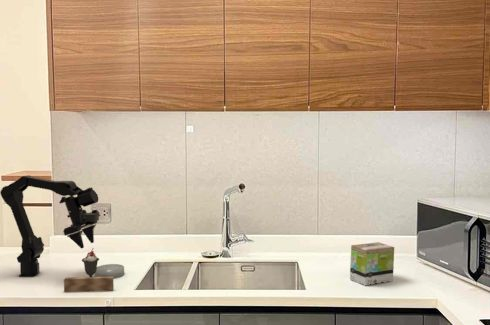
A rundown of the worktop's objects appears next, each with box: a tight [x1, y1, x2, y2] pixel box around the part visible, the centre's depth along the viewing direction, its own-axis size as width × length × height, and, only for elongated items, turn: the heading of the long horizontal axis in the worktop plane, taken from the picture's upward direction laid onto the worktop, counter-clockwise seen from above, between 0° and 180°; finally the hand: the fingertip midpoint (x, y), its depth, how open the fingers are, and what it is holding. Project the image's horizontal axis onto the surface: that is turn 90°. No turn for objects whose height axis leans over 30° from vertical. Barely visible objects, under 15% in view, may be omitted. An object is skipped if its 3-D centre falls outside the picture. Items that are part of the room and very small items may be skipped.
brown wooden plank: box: [63, 276, 115, 293], centre depth 182 cm, size 18×2×5 cm, turn 95°
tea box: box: [349, 241, 395, 286], centre depth 196 cm, size 15×10×15 cm, turn 117°
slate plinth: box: [94, 263, 125, 280], centre depth 202 cm, size 12×12×3 cm
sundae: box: [81, 248, 100, 277], centre depth 190 cm, size 7×7×15 cm
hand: (87, 245), depth 198 cm, fingers open, 9 cm apart
